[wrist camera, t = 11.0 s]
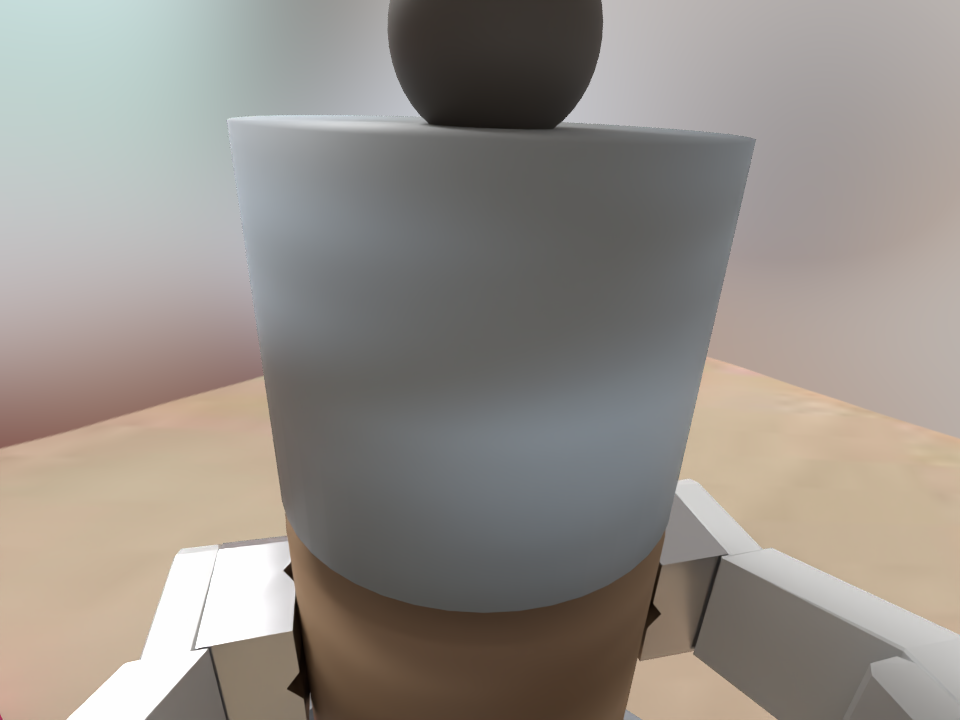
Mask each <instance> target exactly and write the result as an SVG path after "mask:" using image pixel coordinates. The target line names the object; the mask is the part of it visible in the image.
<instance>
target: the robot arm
mask: <svg viewBox="0 0 960 720" xmlns="http://www.w3.org/2000/svg"><path fill="white" fill-rule="evenodd" d="M691 651H694V653H693V654H694V655H695V656H696V657H698V658H699V659H700V660H701V661H703V662H704V663H705V664H707V665H708V666H709V667H710V668H712V669H713V670H714V671H716V672H717V673H718V674H720V675H721V676H722V677H723V678H725V679H726V680H727V681H729V682H730V683H731V684H732V685H734V686H735V687H736V688H738V689H739V690H740V691H742V692H743V693H744V694H745V695H747V696H748V697H749V698H751V699H752V700H753V701H754V702H756V703H757V704H758V705H760V706H761V707H762V708H764V709H765V710H766V711H767V712H769V713H770V714H771V715H773V716H774V717H775V718H776V719H778V720H960V635H959V634H957V633H954V632H952V631H950V630H948V629H946V628H944V627H941V626H939V625H937V624H935V623H933V622H931V621H929V620H926V619H924V618H922V617H920V616H918V615H916V614H913V613H911V612H909V611H907V610H905V609H903V608H901V607H898V606H896V605H894V604H892V603H890V602H888V601H885V600H883V599H881V598H879V597H877V596H875V595H872V594H870V593H868V592H866V591H864V590H862V589H860V588H857V587H855V586H853V585H851V584H849V583H847V582H844V581H842V580H840V579H838V578H836V577H834V576H831V575H829V574H827V573H825V572H823V571H821V570H819V569H816V568H814V567H812V566H810V565H808V564H806V563H803V562H801V561H799V560H797V559H795V558H793V557H790V556H788V555H786V554H784V553H782V552H780V551H778V550H775V549H773V548H768V549H762V548H761V547H760V546H759V545H758V544H757V543H756V542H755V541H754V540H753V539H752V538H751V537H750V536H749V535H748V534H747V532H746V531H745V530H744V529H743V528H742V527H741V526H740V525H739V524H738V523H737V522H736V521H735V520H734V519H733V518H732V517H731V516H730V515H729V514H728V513H727V512H726V511H725V510H724V509H723V508H722V507H721V506H720V505H719V504H718V503H717V501H716V500H715V499H714V498H713V497H712V496H711V495H710V494H709V493H708V492H707V491H706V490H705V489H704V488H703V487H702V486H701V485H700V484H699V483H698V482H696V481H694V480H691V479H684V480H678V483H677V487H676V491H675V496H674V500H673V504H672V509H671V513H670V518H669V522H668V524H667V526H666V529H665V539H664V544H663V548H662V553H661V557H660V561H659V566H658V570H657V574H656V579H655V583H654V588H653V592H652V596H651V601H650V605H649V609H648V614H647V618H646V623H645V627H644V631H643V636H642V640H641V644H640V649H639V653H638V659H639V660H640V661H643V660H649V659H654V658H659V657H665V656H670V655H675V654H681V653H686V652H691ZM309 710H310V688H309V681H308V675H307V668H306V661H305V654H304V647H303V640H302V633H301V627H300V620H299V613H298V606H297V599H296V592H295V585H294V579H293V572H292V565H291V558H290V551H289V544H288V537H287V536H281V537H272V538H264V539H255V540H247V541H238V542H229V543H223V544H222V545H210V546H201V547H193V548H184V549H181V550H180V551H179V552H178V554H177V555H176V556H175V557H174V559H173V562H172V565H171V568H170V571H169V574H168V577H167V580H166V583H165V585H164V588H163V591H162V594H161V597H160V600H159V603H158V606H157V609H156V612H155V615H154V618H153V621H152V624H151V627H150V630H149V633H148V636H147V639H146V642H145V645H144V648H143V651H142V654H141V657H140V660H139V661H133V662H128V663H125V664H123V665H122V666H121V667H120V668H119V669H118V670H117V671H116V672H115V673H114V674H113V675H112V676H111V677H110V678H109V679H108V680H107V681H106V682H105V683H104V684H103V685H102V686H101V687H100V688H99V689H98V690H97V691H96V692H94V693H93V694H92V695H91V696H90V697H89V698H88V699H87V700H86V701H85V702H84V703H83V704H82V705H81V706H80V707H79V708H78V709H77V710H76V711H75V712H74V713H73V714H72V715H71V716H70V717H69V718H68V719H67V720H309Z"/></svg>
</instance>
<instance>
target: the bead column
mask: <svg viewBox="0 0 960 720" xmlns="http://www.w3.org/2000/svg"><path fill="white" fill-rule="evenodd" d="M602 30H603V15H602V2H601V0H390V4H389V12H388V40H389V48H390V53H391V58H392V63H393V66H394V69H395V72H396V75H397V78H398V80H399V82H400V85H401V87H402V89H403V91H404V93H405V94H406V96H407V98H408V99H409V101H410V103H411V104H412V106H413V107H414V108H415V109H416V110H417V112H418V113H419V114H420V116H421V117H402V116H351V115H348V116H346V115H345V116H344V115H278V116H277V115H275V116H247V117H235V118H230V119H227V126H228V133H229V139H230V146H231V153H232V160H233V166H234V174H235V181H236V188H237V195H238V201H239V208H240V215H241V221H242V229H243V235H244V242H245V249H246V256H247V263H248V270H249V277H250V284H251V291H252V297H253V304H254V311H255V317H256V325H257V332H258V338H259V345H260V352H261V359H262V365H263V373H264V380H265V387H266V393H267V400H268V407H269V414H270V421H271V428H272V435H273V441H274V448H275V455H276V462H277V469H278V476H279V483H280V489H281V496H282V502H283V506H284V509H285V512H286V513H285V516H286V530H287V537H288V544H289V551H290V558H291V565H292V572H293V579H294V585H295V592H296V599H297V606H298V613H299V620H300V627H301V633H302V640H303V647H304V654H305V661H306V668H307V675H308V681H309V688H310V695H311V702H312V709H313V716H314V720H623V719H624V714H625V710H626V706H627V701H628V697H629V693H630V688H631V684H632V679H633V675H634V671H635V666H636V662H637V658H638V653H639V649H640V644H641V640H642V636H643V631H644V627H645V623H646V618H647V614H648V609H649V605H650V601H651V596H652V592H653V588H654V583H655V579H656V574H657V570H658V566H659V561H660V557H661V553H662V548H663V544H664V539H665V529H666V526H667V524H668V522H669V518H670V513H671V509H672V504H673V500H674V496H675V491H676V487H677V483H678V478H679V474H680V469H681V465H682V461H683V456H684V452H685V448H686V443H687V439H688V434H689V430H690V426H691V421H692V417H693V413H694V408H695V404H696V399H697V395H698V391H699V386H700V382H701V378H702V373H703V369H704V364H705V360H706V356H707V351H708V347H709V342H710V338H711V334H712V329H713V325H714V321H715V316H716V312H717V307H718V303H719V299H720V294H721V290H722V285H723V281H724V277H725V273H726V268H727V264H728V259H729V255H730V251H731V246H732V242H733V238H734V233H735V229H736V224H737V220H738V216H739V211H740V207H741V202H742V198H743V193H744V189H745V185H746V181H747V176H748V172H749V168H750V163H751V159H752V154H753V150H754V146H755V141H756V139H753V138H749V137H744V136H737V135H730V134H721V133H711V132H701V131H689V130H677V129H663V128H650V127H635V126H619V125H602V124H601V125H600V124H583V123H564V122H562V121H563V120H564V119H565V117H567V116H568V114H570V112H571V111H572V110H573V109H574V108H575V106H576V105H577V103H578V102H579V101H580V99H581V98H582V96H583V94H584V92H585V91H586V89H587V87H588V85H589V83H590V80H591V78H592V76H593V73H594V71H595V67H596V64H597V60H598V57H599V53H600V47H601V41H602Z"/></svg>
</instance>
